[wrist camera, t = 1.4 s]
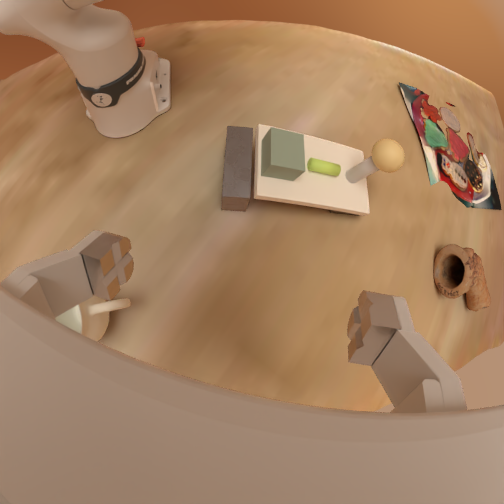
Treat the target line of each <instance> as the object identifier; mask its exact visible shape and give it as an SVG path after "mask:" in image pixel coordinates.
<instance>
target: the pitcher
mask: <svg viewBox="0 0 504 504" xmlns="http://www.w3.org/2000/svg"><path fill="white" fill-rule="evenodd" d="M130 305H131V303H130V300H129V299H117V300H112V301H107V302H106V300H105V299H103V298H100V297H97V296H94V295H93V297H91V298H89V299H87V300H86V301H84V302H82V303H80V304H78V305H77V306H75V307H73V308H71V309H70V310H68V311H66V312H64V313H63V314H61V315H59V316H57V317H56V318H55V319H56V321H58V322H59V323H61V324H63V325H65V326H67V327H69V328H71V329H72V330H74V331H76V332H78V333H80V334H82V335H84V336H86V337H88V338H90V339H92V340H95V341H97V342H98V341H99V340H100V339H101V338H102V337H103V335H104V333H105V332H106V329H107V327H108V323H109V312H110V311H114V310H118V309H123V308H127V307H129V306H130Z"/></svg>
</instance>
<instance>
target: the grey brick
mask: <svg viewBox="0 0 504 504" xmlns="http://www.w3.org/2000/svg"><path fill="white" fill-rule="evenodd" d="M252 137H253V128H247V127H234V126H227V138H226V150H225V163H224V176H223V191H222V208H221V210H230V211H246V209H247V206H248V203H249V200H250V194H251V165H252ZM330 213H340V214H349V215H357V214H352V213H346V212H340V211H335V210H330ZM358 216H359V215H358Z"/></svg>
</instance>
